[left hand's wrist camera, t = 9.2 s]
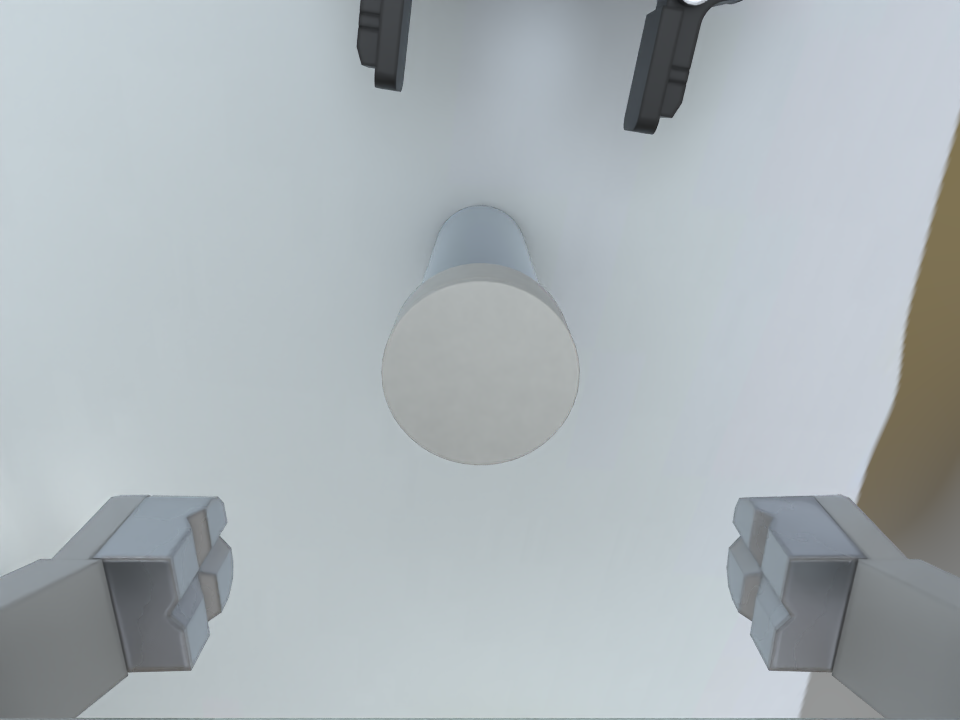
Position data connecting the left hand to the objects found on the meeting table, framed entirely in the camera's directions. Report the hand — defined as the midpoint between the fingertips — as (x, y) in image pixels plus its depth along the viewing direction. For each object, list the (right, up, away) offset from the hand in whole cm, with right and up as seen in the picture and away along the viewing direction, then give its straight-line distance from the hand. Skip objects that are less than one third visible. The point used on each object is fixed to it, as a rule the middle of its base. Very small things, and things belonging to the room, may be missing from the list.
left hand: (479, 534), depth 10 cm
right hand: (+1, +11, +13) cm, 17 cm away
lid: (0, +2, +6) cm, 7 cm away
